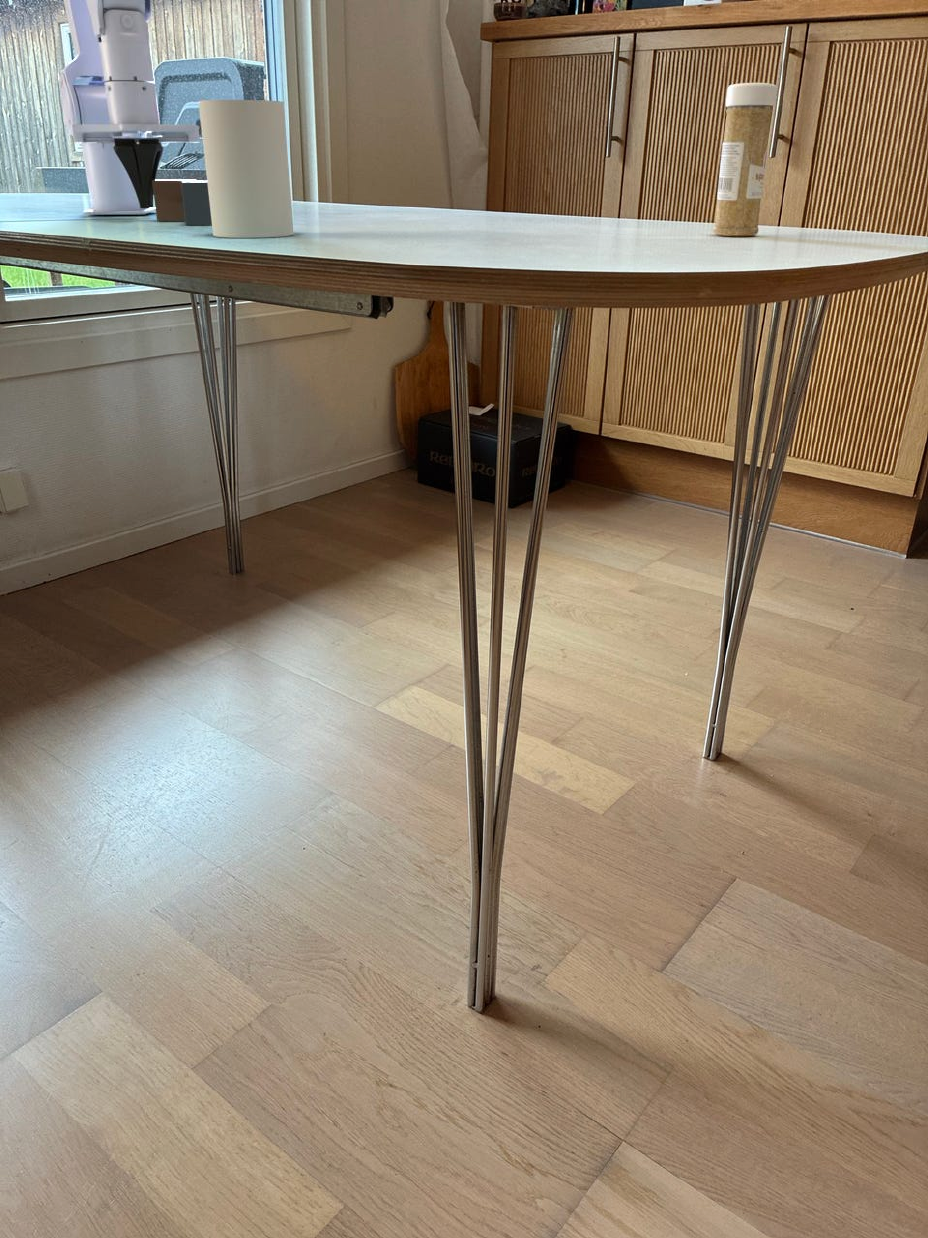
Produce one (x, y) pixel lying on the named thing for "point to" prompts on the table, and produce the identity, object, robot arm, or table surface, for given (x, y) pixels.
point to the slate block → (196, 202)
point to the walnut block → (169, 199)
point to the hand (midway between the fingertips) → (147, 207)
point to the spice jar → (743, 158)
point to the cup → (247, 168)
